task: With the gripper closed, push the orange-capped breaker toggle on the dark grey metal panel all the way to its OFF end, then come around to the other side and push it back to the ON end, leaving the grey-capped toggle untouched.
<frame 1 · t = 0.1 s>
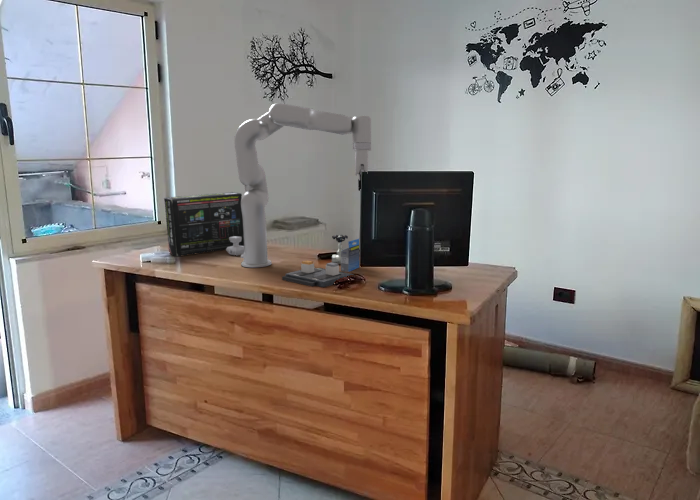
hand: (362, 189, 229), 31 cm above the table, tool pointing down, fingers open, 9 cm apart
orange-capped toggle: (307, 266, 212), point 4 cm above the table, slide at 3.0 cm
valve: (340, 264, 235), on the table
grey-capped toggle: (332, 268, 208), point 4 cm above the table, slide at 6.0 cm
back cord: (335, 274, 217), on the table
stamp: (236, 255, 257), on the table
label tape box: (350, 270, 225), on the table
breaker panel: (317, 279, 210), on the table
router box: (207, 250, 269), on the table
dark grey bar: (298, 282, 205), on the table
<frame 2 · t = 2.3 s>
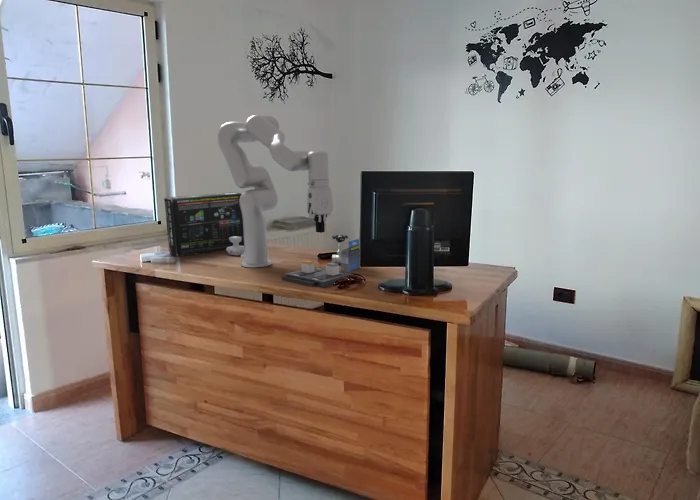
hand: (320, 232, 215), 17 cm above the table, tool pointing down, fingers closed
nothing on the table moved.
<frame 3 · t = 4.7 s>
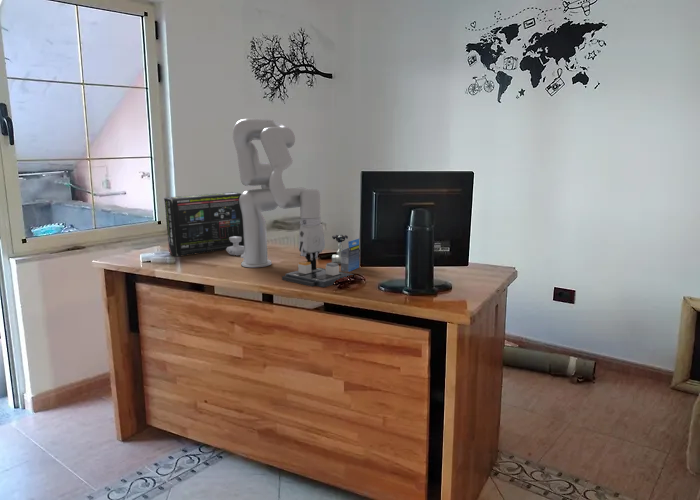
hand: (311, 269, 214), 3 cm above the table, tool pointing down, fingers closed
orange-capped toggle: (304, 267, 211), point 4 cm above the table, slide at 1.4 cm, touching gripper
everything else where it was.
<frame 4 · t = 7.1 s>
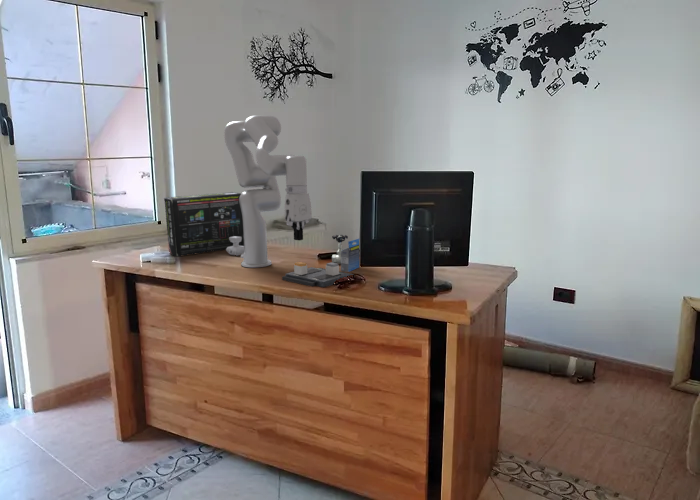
hand: (298, 239, 207), 15 cm above the table, tool pointing down, fingers closed
orange-capped toggle: (300, 268, 210), point 4 cm above the table, slide at -0.7 cm
everything else where it was.
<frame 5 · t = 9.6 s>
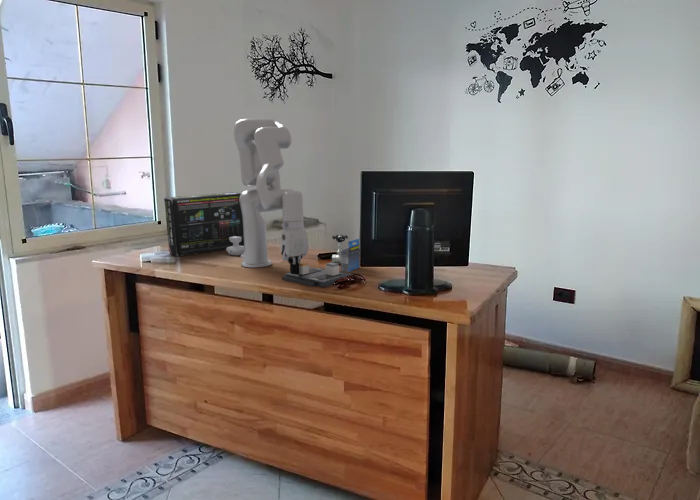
hand: (294, 273, 208), 3 cm above the table, tool pointing down, fingers closed
orange-capped toggle: (302, 268, 210), point 4 cm above the table, slide at 0.0 cm, touching gripper
everything else where it was.
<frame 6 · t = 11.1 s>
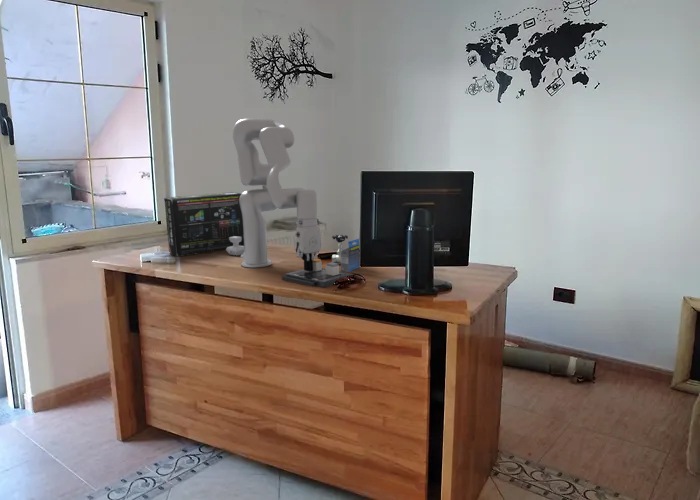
hand: (308, 270, 213), 3 cm above the table, tool pointing down, fingers closed
orange-capped toggle: (315, 264, 215), point 4 cm above the table, slide at 7.1 cm, touching gripper
everything else where it was.
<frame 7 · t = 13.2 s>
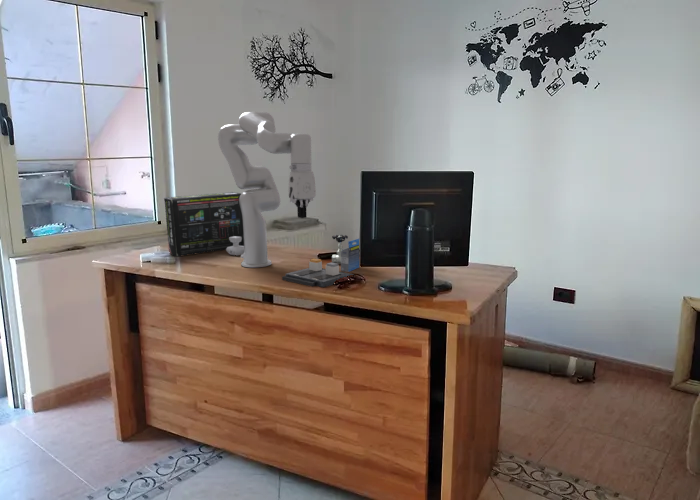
hand: (302, 217, 209), 23 cm above the table, tool pointing down, fingers closed
orange-capped toggle: (315, 264, 215), point 4 cm above the table, slide at 7.2 cm
everything else where it was.
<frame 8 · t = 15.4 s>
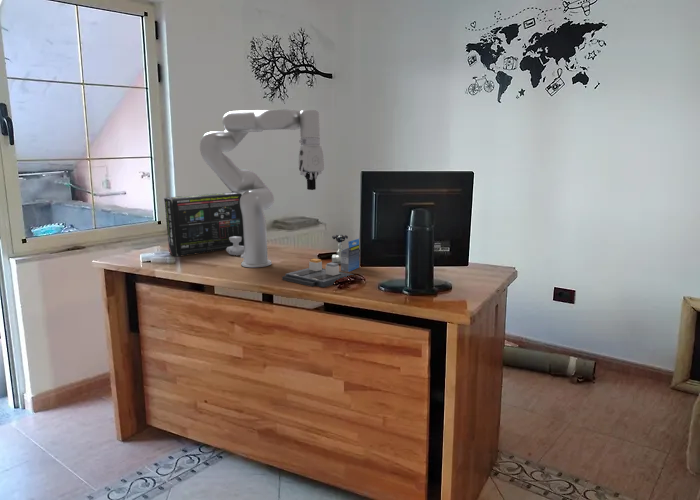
hand: (311, 189, 222), 32 cm above the table, tool pointing down, fingers closed
nothing on the table moved.
at the end: orange-capped toggle slide at 7.2 cm; grey-capped toggle slide at 6.0 cm; orange-capped toggle touching nothing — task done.
